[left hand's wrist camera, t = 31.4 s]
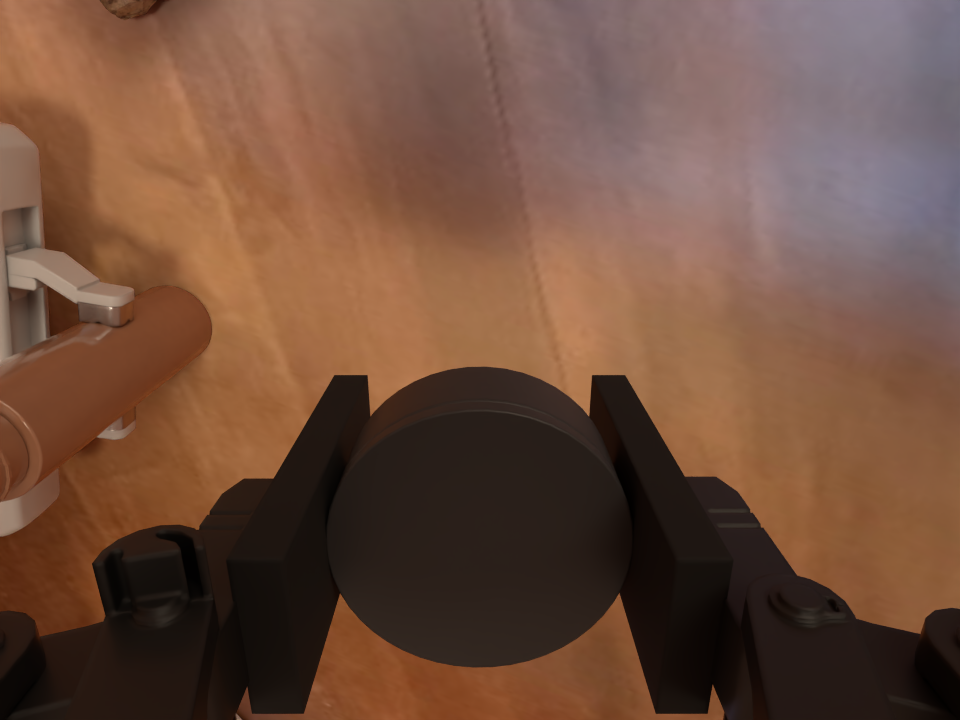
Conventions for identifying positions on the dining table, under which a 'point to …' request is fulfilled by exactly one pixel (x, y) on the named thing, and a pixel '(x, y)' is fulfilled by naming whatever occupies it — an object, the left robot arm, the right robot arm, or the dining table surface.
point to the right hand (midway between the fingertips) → (129, 365)
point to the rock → (128, 7)
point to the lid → (479, 520)
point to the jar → (90, 382)
